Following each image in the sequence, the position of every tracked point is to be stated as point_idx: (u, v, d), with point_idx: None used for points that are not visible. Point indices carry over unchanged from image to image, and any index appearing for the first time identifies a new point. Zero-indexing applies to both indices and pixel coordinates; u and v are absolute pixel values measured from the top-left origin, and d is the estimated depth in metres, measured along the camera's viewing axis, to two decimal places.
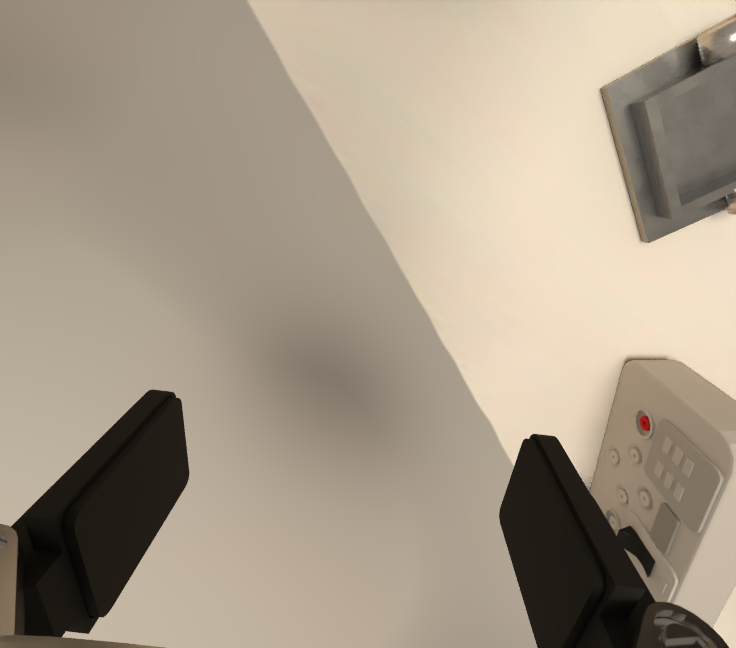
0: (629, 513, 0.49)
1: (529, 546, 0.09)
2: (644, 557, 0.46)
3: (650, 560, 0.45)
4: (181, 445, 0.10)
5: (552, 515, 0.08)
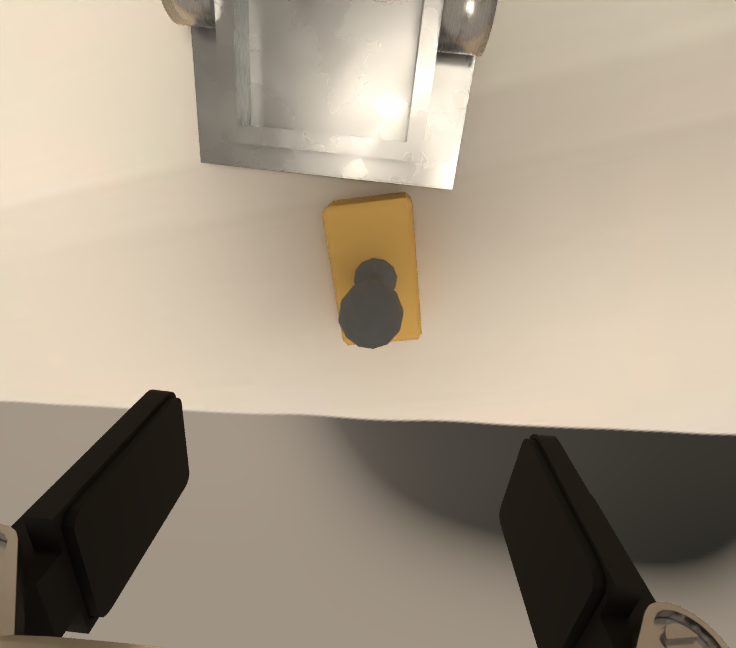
0: None
1: (529, 546, 0.09)
2: None
3: None
4: (181, 445, 0.10)
5: (552, 515, 0.08)
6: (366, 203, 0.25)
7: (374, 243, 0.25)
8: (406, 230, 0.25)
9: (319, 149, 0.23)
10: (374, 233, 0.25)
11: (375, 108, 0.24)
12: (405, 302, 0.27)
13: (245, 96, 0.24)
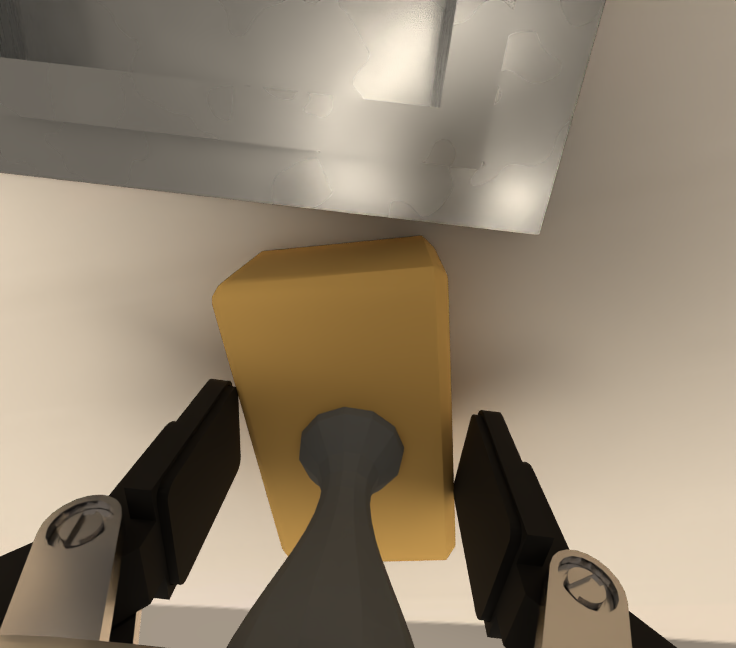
0: None
1: (471, 512, 0.10)
2: None
3: None
4: (236, 431, 0.11)
5: (487, 480, 0.09)
6: (325, 278, 0.09)
7: (348, 376, 0.10)
8: (432, 348, 0.09)
9: (178, 128, 0.08)
10: (348, 352, 0.10)
11: (349, 21, 0.09)
12: (421, 497, 0.11)
13: None
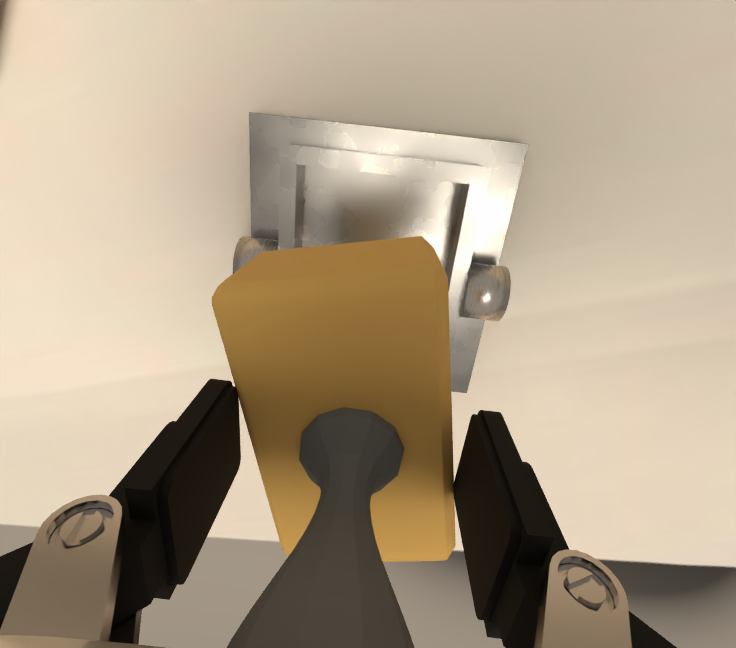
0: None
1: (471, 512, 0.10)
2: None
3: None
4: (236, 431, 0.11)
5: (487, 480, 0.09)
6: (324, 279, 0.09)
7: (348, 376, 0.10)
8: (432, 349, 0.09)
9: None
10: (348, 352, 0.10)
11: None
12: (421, 497, 0.11)
13: None
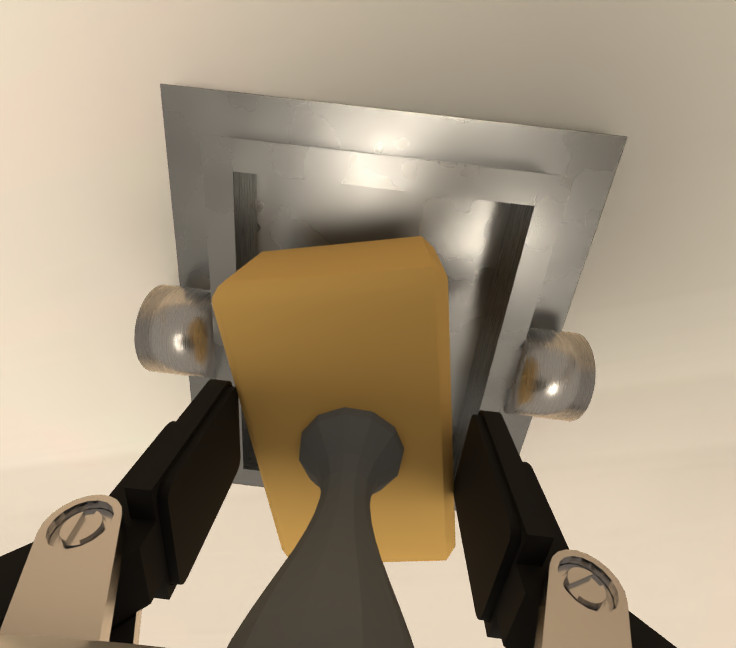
0: None
1: (471, 512, 0.10)
2: None
3: None
4: (236, 431, 0.11)
5: (487, 480, 0.09)
6: (324, 279, 0.09)
7: (348, 376, 0.10)
8: (432, 349, 0.09)
9: None
10: (348, 353, 0.10)
11: None
12: (422, 497, 0.11)
13: None
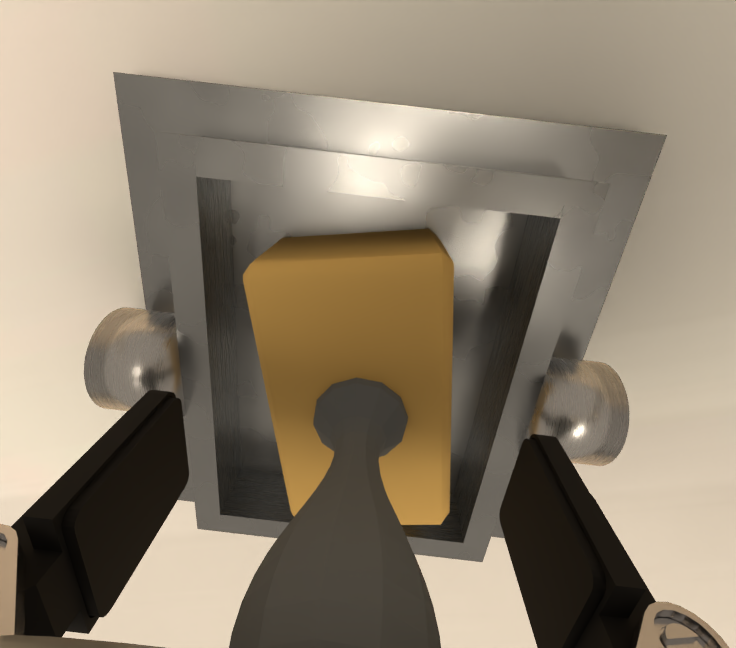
0: None
1: (529, 546, 0.09)
2: None
3: None
4: (181, 445, 0.10)
5: (552, 515, 0.08)
6: (345, 260, 0.10)
7: (362, 349, 0.11)
8: (437, 326, 0.11)
9: None
10: (362, 327, 0.11)
11: None
12: (421, 463, 0.13)
13: (232, 456, 0.17)
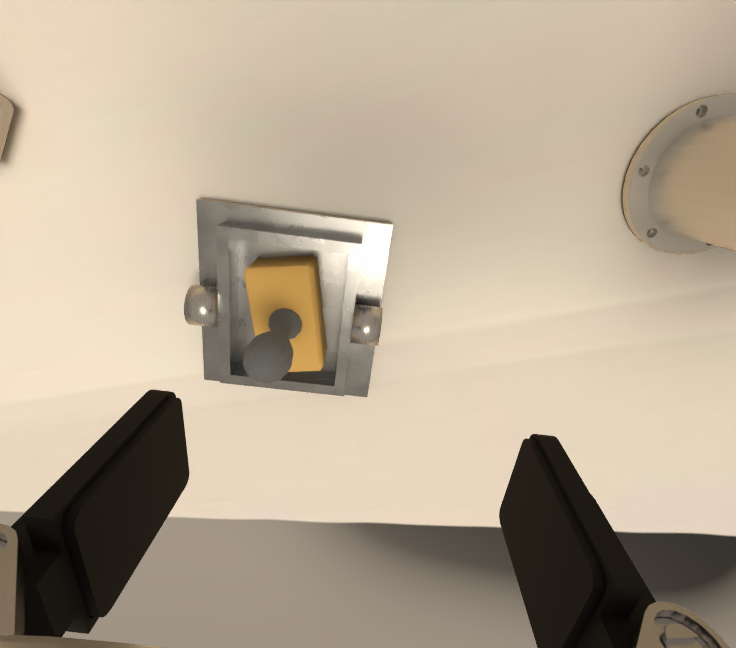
0: None
1: (529, 546, 0.09)
2: None
3: None
4: (181, 445, 0.10)
5: (552, 515, 0.08)
6: (277, 267, 0.32)
7: (284, 297, 0.33)
8: (308, 289, 0.32)
9: (281, 388, 0.38)
10: (284, 290, 0.32)
11: None
12: (309, 342, 0.34)
13: (235, 352, 0.38)
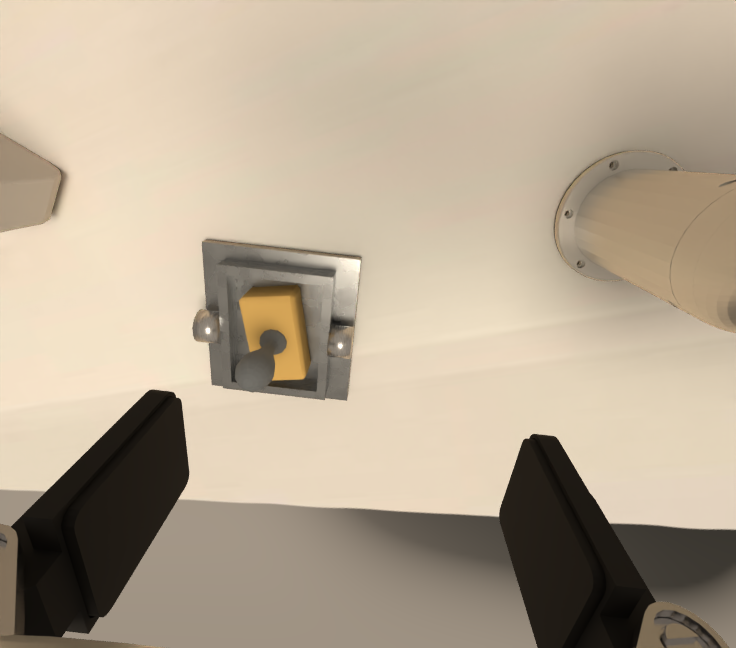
0: None
1: (529, 546, 0.09)
2: None
3: None
4: (181, 445, 0.10)
5: (552, 515, 0.08)
6: (265, 297, 0.40)
7: (271, 321, 0.40)
8: (290, 314, 0.40)
9: (273, 393, 0.46)
10: (271, 315, 0.40)
11: None
12: (293, 356, 0.42)
13: (235, 363, 0.46)
